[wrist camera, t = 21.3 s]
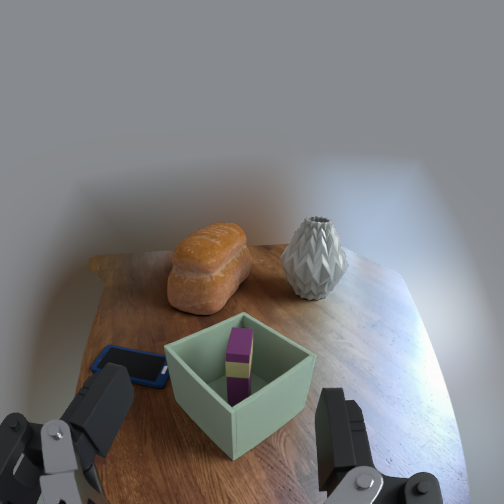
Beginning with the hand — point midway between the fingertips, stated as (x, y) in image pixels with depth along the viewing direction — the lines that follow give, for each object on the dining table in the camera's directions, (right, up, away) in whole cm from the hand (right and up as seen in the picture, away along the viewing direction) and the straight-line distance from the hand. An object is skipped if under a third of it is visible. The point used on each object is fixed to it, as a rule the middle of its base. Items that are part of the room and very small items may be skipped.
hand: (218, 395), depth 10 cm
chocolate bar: (0, -16, +26) cm, 30 cm away
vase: (+16, -5, +59) cm, 62 cm away
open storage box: (-1, -16, +26) cm, 31 cm away
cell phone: (-19, -14, +32) cm, 40 cm away
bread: (-8, -4, +60) cm, 61 cm away
